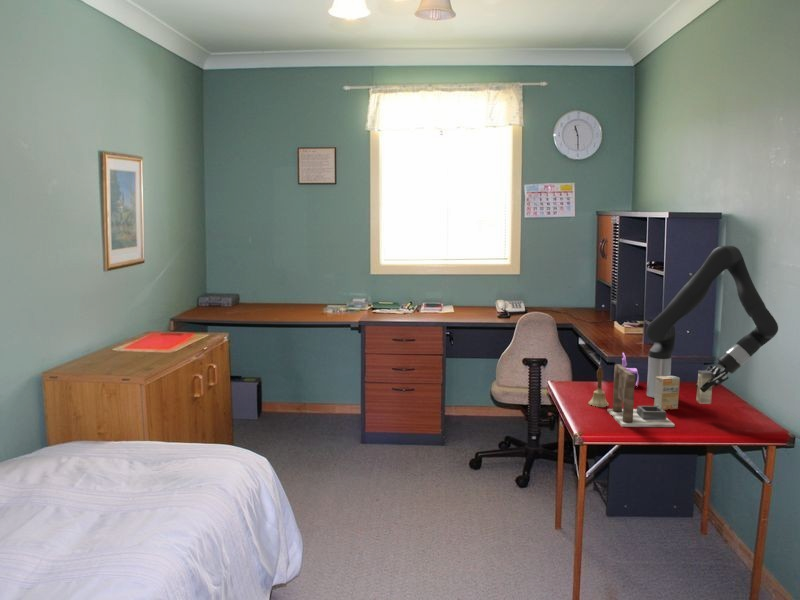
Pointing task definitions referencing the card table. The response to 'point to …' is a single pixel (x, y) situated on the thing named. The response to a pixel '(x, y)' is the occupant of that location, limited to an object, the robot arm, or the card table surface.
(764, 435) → the card table surface
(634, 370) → the toy chair
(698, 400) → the rail post
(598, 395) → the hand bell
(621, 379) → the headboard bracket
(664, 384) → the supplement box
